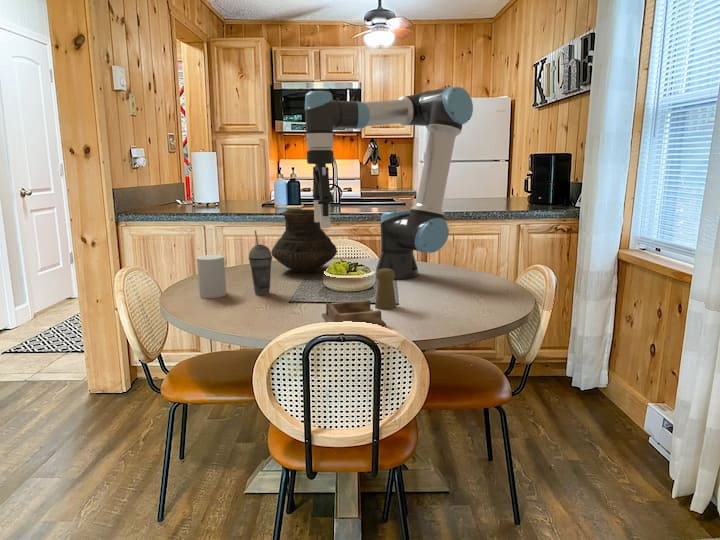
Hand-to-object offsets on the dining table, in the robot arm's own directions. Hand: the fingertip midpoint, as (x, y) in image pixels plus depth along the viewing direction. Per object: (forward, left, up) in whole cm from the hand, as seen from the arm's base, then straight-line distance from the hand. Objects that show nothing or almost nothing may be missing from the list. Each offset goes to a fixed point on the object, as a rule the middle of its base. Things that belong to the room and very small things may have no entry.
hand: (322, 224), depth 148 cm
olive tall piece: (-16, +12, -23) cm, 30 cm away
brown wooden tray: (-4, +22, -23) cm, 32 cm away
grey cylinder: (+32, -16, -23) cm, 43 cm away
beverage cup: (+17, -13, -23) cm, 32 cm away
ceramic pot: (-1, -43, -23) cm, 49 cm away
